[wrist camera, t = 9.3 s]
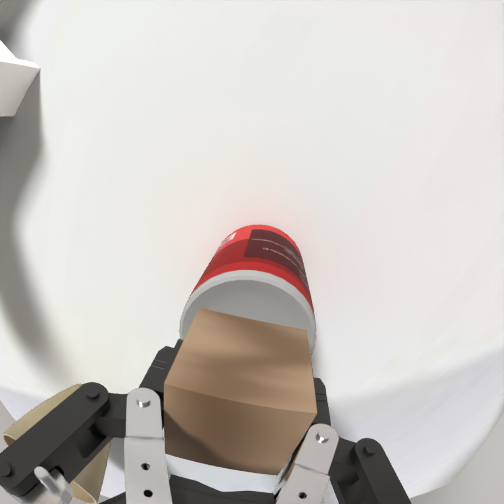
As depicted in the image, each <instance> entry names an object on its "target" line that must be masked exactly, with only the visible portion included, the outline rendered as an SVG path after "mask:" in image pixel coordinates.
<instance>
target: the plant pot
mask: <svg viewBox="0 0 504 504" xmlns="http://www.w3.org/2000/svg"><path fill="white" fill-rule="evenodd" d="M82 385H83V384H76V385H74V386H72V387H70V388H68V389H66V390H64V391H62V392H60V393H58V394H56V395H54V396H52V397H51V398H49V399H47V400H46V401H44V402H42V403H41V404H39V405H38V406H36V407H35V408H33V409H32V410H31V411H29V412H28V413H26V414H25V415H24V416H23V417H21V418H20V419H19V420H18V421H16V422H15V423H14V424H13V425H12V426H11V427H9V428H8V429H7V430H6V431H5V432H4V433H3V434H2V437H3V440H4V441H5V443H6V444H7V445H8V446H10V445H11V444H12V443H13V442H14V441H16V440H17V439H18V438H19V437H20V436H21V435H23V434H24V433H25V432H26V431H27V430H29V429H30V428H31V427H32V426H33V425H35V424H36V423H37V422H38V421H39V420H41V419H42V418H43V417H44V416H45V415H47V414H48V413H49V412H50V411H51V410H53V409H54V408H55V407H56V406H57V405H59V404H60V403H61V402H62V401H63V400H65V399H66V398H67V397H68V396H69V395H71V394H72V393H73V392H74V391H76V390H77V389H78V388H79V387H80V386H82ZM110 441H111V440H110ZM109 448H110V442H109V443H108V444H107V445H106V446H105V447H104V448H103V449H102V450H101V451H100V452H99V453H98V454H97V455H96V456H95V458H94V459H93V460H92V461H91V462H90V463H89V464H88V465H87V466H86V467H85V468H84V469H83V470H82V471H81V472H80V473H79V474H78V475H77V476H76V477H75V479H74V480H73V481H72V482H71V483H70V484H69V485H70V486H71V488H72V491H73V497H72V498H75V499H77V500H79V501H82V502H84V503H87V504H97V502H98V498H99V495H100V491H101V487H102V484H103V479H104V475H105V470H106V466H107V460H108V455H109Z"/></svg>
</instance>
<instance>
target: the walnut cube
mask: <svg viewBox="0 0 504 504" xmlns="http://www.w3.org/2000/svg"><path fill="white" fill-rule="evenodd" d="M316 415H317V407H316V398H315V389H314V381H313V373H312V365H311V357H310V350H309V342H308V335H307V330H304V329H298V328H293V327H287V326H282V325H277V324H272V323H267V322H262V321H257V320H253V319H248V318H243V317H239V316H234V315H230V314H225V313H221V312H217V311H212V310H208V309H204V308H200V307H199V309H198V311H197V313H196V315H195V317H194V320H193V322H192V324H191V326H190V328H189V330H188V332H187V334H186V337H185V339H184V341H183V343H182V345H181V347H180V349H179V352H178V354H177V356H176V358H175V360H174V362H173V365H172V367H171V369H170V371H169V373H168V376H167V378H166V380H165V382H164V437H165V454H169V455H172V456H176V457H179V458H183V459H187V460H191V461H195V462H199V463H203V464H208V465H213V466H217V467H222V468H228V469H233V470H239V471H246V472H253V473H260V474H269V475H278V474H279V472H280V471H281V470H282V468H283V467H284V465H285V464H286V462H287V461H288V459H289V458H290V456H291V455H292V453H293V452H294V450H295V449H296V447H297V446H298V444H299V443H300V441H301V439H302V438H303V436H304V435H305V433H306V431H307V430H308V428H309V426H310V425H311V423H312V421H313V420H314V418H315V416H316Z"/></svg>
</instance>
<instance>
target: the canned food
mask: <svg viewBox="0 0 504 504" xmlns="http://www.w3.org/2000/svg"><path fill="white" fill-rule="evenodd" d="M199 307H200V308H204V309H208V310H212V311H217V312H221V313H225V314H230V315H234V316H239V317H243V318H248V319H253V320H257V321H262V322H267V323H272V324H277V325H282V326H287V327H293V328H298V329H304V330H307V335H308V342H309V350H310V357H311V354H312V352H313V349H314V346H315V339H316V324H315V316H314V310H313V304H312V300H311V295H310V291H309V286H308V282H307V277H306V273H305V269H304V264H303V260H302V256H301V254H300V251H299V249H298V247H297V245H296V244H295V242H294V241H293V240H292V239H291V238H290V237H289V236H288V235H287V234H285V233H284V232H282V231H281V230H279V229H277V228H274V227H271V226H266V225H250V226H246V227H243V228H240V229H238V230H236V231H234V232H233V233H232V234H230V235H229V236H228V237H227V238H226V239H225V240H224V241H223V242H222V244H221V245H220V247H219V248H218V250H217V252H216V253H215V255H214V257H213V258H212V260H211V262H210V263H209V265H208V266H207V268H206V270H205V271H204V273H203V275H202V276H201V278H200V280H199V281H198V283H197V285H196V286H195V288H194V290H193V291H192V293H191V295H190V297H189V299H188V301H187V303H186V304H185V307H184V310H183V314H182V317H181V320H180V330H179V332H180V339H181V340H184V339H185V337H186V334H187V332H188V330H189V328H190V326H191V324H192V322H193V320H194V317H195V315H196V313H197V311H198V309H199Z"/></svg>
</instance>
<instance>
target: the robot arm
mask: <svg viewBox="0 0 504 504" xmlns="http://www.w3.org/2000/svg"><path fill="white" fill-rule="evenodd" d="M183 341H184V340H181V339H179V340H178V341H177V343H176V345H175V347H174V348H171V347H168V346H165V347H164V348H163V349H161V350H160V351H158V353H157V355H156V357H155V359H154V360H153V362H152V364H151V366H150V368H149V370H148V371H147V373H146V375H145V377H144V379H143V381H142V383H141V384H140V386H139V388H137V389H134V390H132V391H131V392H130V393H129V394H113V393H108V391H107V389H106V388H105V387H104V386H103V385H101V384H99V383H95V382H89V383H85V384H83V385H82V386H80V387H79V388H78V389H77V390H76V391H74V392H73V393H72V394H71V395H69V396H68V397H67V398H66V399H65V400H63V401H62V402H61V403H60V404H59V405H57V406H56V407H55V408H54V409H53V410H51V411H50V412H49V413H48V414H47V415H45V416H44V417H43V418H42V419H41V420H39V421H38V422H37V423H36V424H35V425H33V426H32V427H31V428H30V429H29V430H27V431H26V432H25V433H24V434H23V435H21V436H20V437H19V438H18V439H17V440H16V441H14V442H13V443H12V444H11V445H10V446H8V447H7V448H6V449H5V450H4V451H3V452H1V453H0V485H1V486H2V487H3V488H4V490H5V491H6V492H8V493H9V494H10V495H11V496H12V497H14V498H15V499H16V500H17V501H18V502H20V503H21V504H69V503H70V501H71V499H72V497H73V491H72V488H71V486H70V485H69V484H70V483H71V482H72V481H73V480H74V479H75V477H76V476H77V475H78V474H79V473H80V472H81V471H82V470H83V469H84V468H85V467H86V466H87V465H88V464H89V463H90V462H91V461H92V460H93V459H94V458H95V456H96V455H97V454H98V453H99V452H100V451H101V450H102V449H103V448H104V447H105V446H106V445H107V444H108V443H109V442H110V440H111V439H112V438H113V437H118V438H124V467H125V489H126V492H123V493H121V494H119V495H117V496H115V497H113V498H111V499H108V500H106V501H104V502H102V503H99V504H321V501H322V499H323V496H324V494H325V491H326V488H327V485H328V482H329V479H330V481H331V484H332V486H333V489H334V492H335V494H336V497H337V500H338V502H339V504H411V502H410V500H409V498H408V496H407V494H406V492H405V490H404V488H403V486H402V484H401V482H400V480H399V479H398V477H397V475H396V473H395V471H394V469H393V467H392V465H391V463H390V461H389V459H388V457H387V456H386V454H385V452H384V450H383V448H382V446H381V445H380V444H379V443H378V442H377V441H375V440H373V439H370V438H364V439H361V440H359V441H358V442H357V443H355V442H352V441H348V440H345V439H343V438H341V437H339V436H338V433H337V432H336V430H335V429H334V428H332V427H331V422H330V415H329V408H328V402H327V396H326V389H325V385H324V384H323V382H322V381H321V379H320V378H313V381H314V389H315V398H316V407H317V415H316V416H315V418H314V420H313V421H312V423H311V425H310V426H309V428H308V430H307V431H306V433H305V435H304V436H303V438H302V439H301V441H300V443H299V444H298V446H297V447H296V449H295V450H294V452H293V453H292V456H291V458H290V460H289V461H288V464H287V466H286V468H285V470H284V472H283V474H282V476H281V477H280V479H279V481H278V483H277V485H276V487H275V489H274V490H273V492H272V493H265V492H256V491H235V492H221V491H218V490H216V489H213V488H211V487H209V486H206V485H204V484H202V483H200V482H198V481H195V480H191V479H187V478H183V477H179V476H175V475H172V474H171V477H170V480H169V479H168V472H167V464H166V456H165V447H164V439H163V432H162V430H163V428H164V382H165V380H166V378H167V376H168V373H169V371H170V369H171V367H172V365H173V362H174V360H175V358H176V356H177V354H178V352H179V349H180V347H181V345H182V343H183ZM312 373H313V370H312Z"/></svg>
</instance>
